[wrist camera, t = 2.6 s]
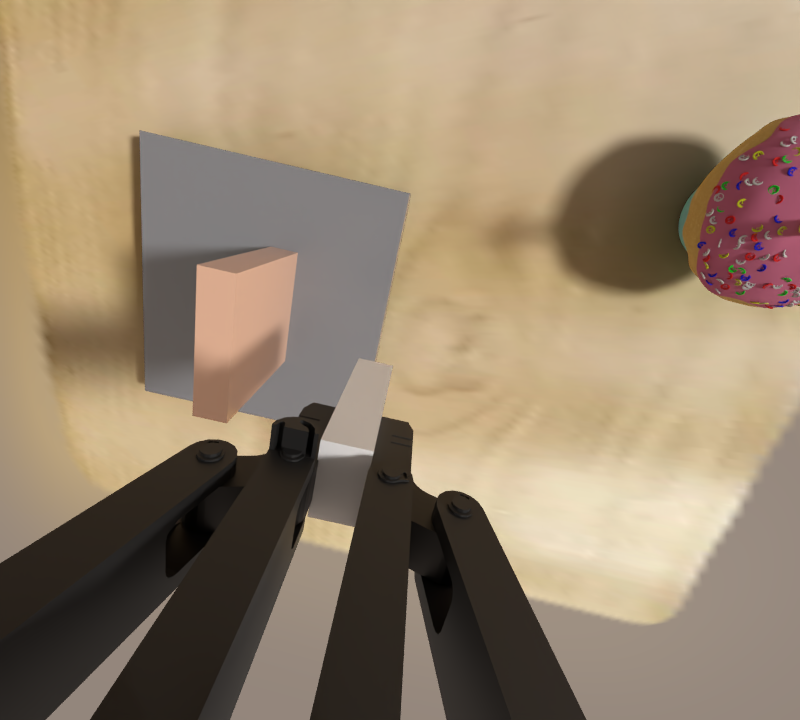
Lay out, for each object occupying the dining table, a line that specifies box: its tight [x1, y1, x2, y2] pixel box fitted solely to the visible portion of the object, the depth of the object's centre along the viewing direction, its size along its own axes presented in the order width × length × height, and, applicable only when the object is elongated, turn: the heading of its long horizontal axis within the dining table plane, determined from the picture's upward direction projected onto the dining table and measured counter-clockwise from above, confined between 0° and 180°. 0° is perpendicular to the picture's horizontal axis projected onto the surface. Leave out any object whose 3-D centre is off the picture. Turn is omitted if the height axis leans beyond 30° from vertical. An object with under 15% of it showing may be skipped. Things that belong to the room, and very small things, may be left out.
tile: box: [193, 247, 298, 423], centre depth 21 cm, size 7×2×8 cm, turn 168°
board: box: [140, 131, 411, 420], centre depth 25 cm, size 16×15×2 cm
